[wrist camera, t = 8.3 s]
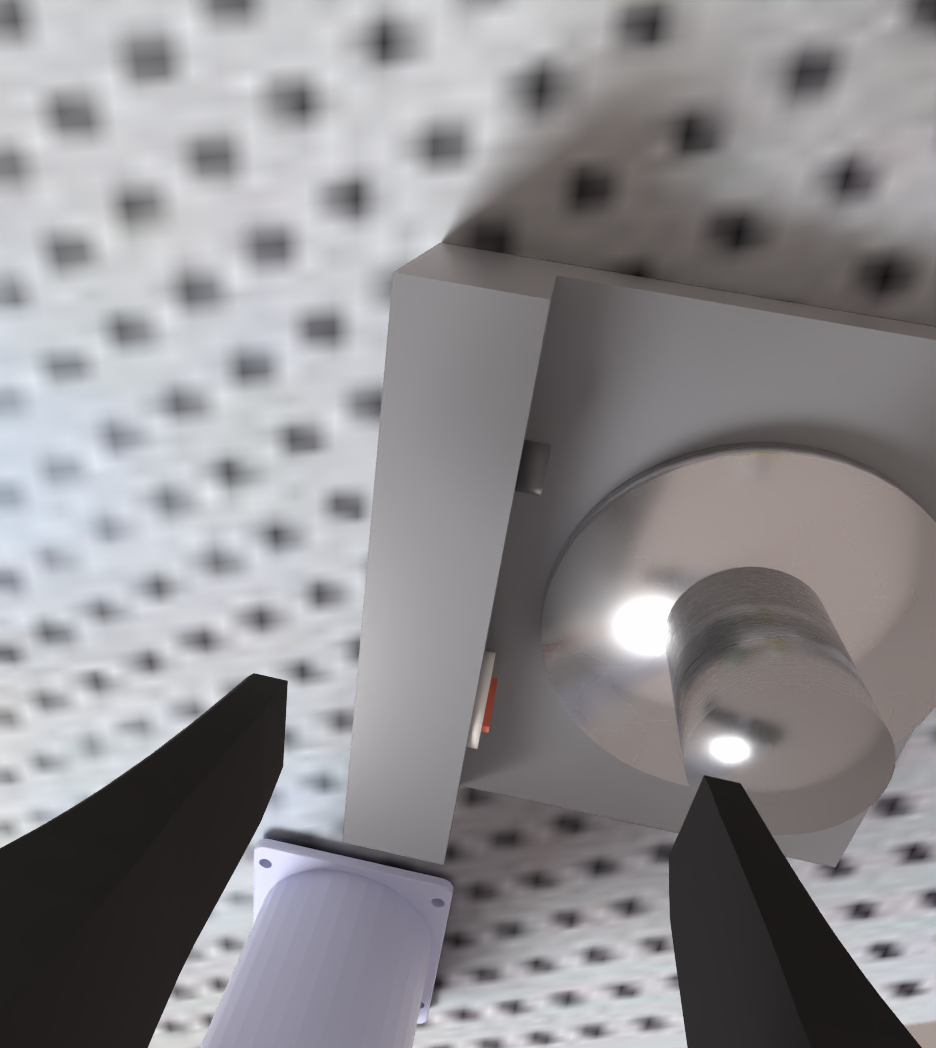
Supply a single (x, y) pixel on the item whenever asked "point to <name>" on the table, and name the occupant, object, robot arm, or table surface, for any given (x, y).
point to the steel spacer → (774, 701)
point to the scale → (569, 505)
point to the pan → (725, 543)
